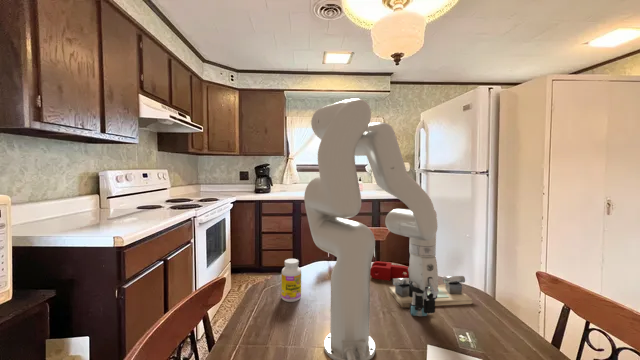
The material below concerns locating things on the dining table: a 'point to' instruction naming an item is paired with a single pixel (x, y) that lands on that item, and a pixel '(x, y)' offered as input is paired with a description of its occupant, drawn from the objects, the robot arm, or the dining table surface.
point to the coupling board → (441, 299)
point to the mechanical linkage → (388, 271)
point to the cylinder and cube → (451, 281)
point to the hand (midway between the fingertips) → (421, 304)
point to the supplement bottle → (291, 281)
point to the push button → (417, 301)
